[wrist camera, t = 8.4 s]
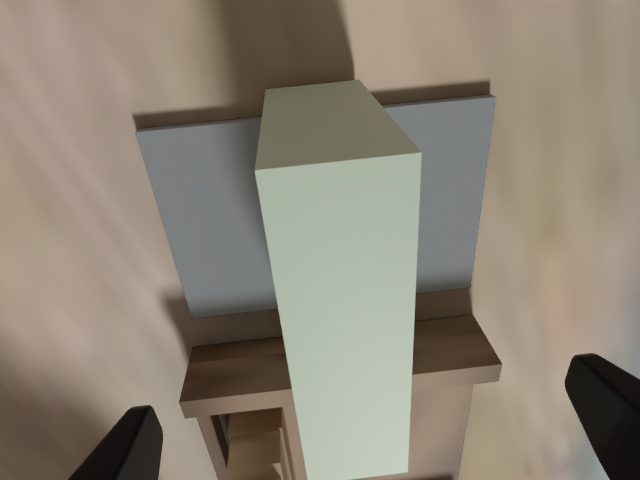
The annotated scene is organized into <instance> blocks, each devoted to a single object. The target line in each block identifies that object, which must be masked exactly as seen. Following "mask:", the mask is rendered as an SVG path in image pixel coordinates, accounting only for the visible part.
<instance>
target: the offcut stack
mask: <svg viewBox="0 0 640 480" xmlns="http://www.w3.org/2000/svg"><path fill="white" fill-rule="evenodd" d="M228 437H229V440H230V448H229V457H228V466H227V470H228V474H229V477H230V480H296V475H295V469H294V464H293V458H292V453H291V448H290V442H289V437H288V431H287V426H286V420H285V415H284V410H283V407H277V408H269V409H261V410H252V411H244V412H235V413H230V418H229V426H228Z"/></svg>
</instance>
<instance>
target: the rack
mask: <svg viewBox="0 0 640 480" xmlns="http://www.w3.org/2000/svg"><path fill="white" fill-rule="evenodd" d="M501 368H502V363H501V361H500V360H499V358H498V356H497V355H496V353H495V351H494V350H493V348H492V346H491V344H490V343H489V341H488V339H487V338H486V336H485V334H484V333H483V331H482V329H481V328H480V326H479V324H478V322H477V321H476V319H475V317H474V316H473V315H471V316H462V317H453V318H444V319H436V320H427V321H418V322H414V342H413V365H412V388H411V411H410V434H409V457H408V472H406V473H399V474H391V475H383V476H375V477H368V478H360V479H352V480H458V476H459V469H460V463H461V457H462V451H463V445H464V438H465V432H466V426H467V420H468V414H469V407H470V401H471V395H472V389H473V384H479V383H487V382H496V381H499V377H500V372H501ZM179 403H180V406H181V409H182V411H183V414H184V417H185V418H193V417H196V418H197V421H198V423H199V426H200V429H201V432H202V435H203V438H204V441H205V443H206V446H207V449H208V452H209V455H210V458H211V460H212V463H213V466H214V469H215V472H216V475H217V477H218V480H230V477H229V474H228V470H227V466H228V457H229V448H230V440H229V437H228V426H229V418H230V413H235V412H244V411H252V410H261V409H269V408H277V407H283V410H284V415H285V420H286V426H287V431H288V437H289V442H290V448H291V453H292V458H293V464H294V469H295V475H296V480H307V474H306V468H305V462H304V456H303V450H302V445H301V439H300V433H299V427H298V421H297V415H296V410H295V404H294V398H293V392H292V386H291V380H290V374H289V369H288V363H287V357H286V351H285V345H284V339H283V337H278V338H269V339H260V340H251V341H242V342H234V343H225V344H216V345H207V346H199V347H192V351H191V355H190V359H189V364H188V368H187V372H186V376H185V380H184V384H183V388H182V392H181V396H180V401H179Z"/></svg>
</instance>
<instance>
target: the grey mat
mask: <svg viewBox="0 0 640 480" xmlns="http://www.w3.org/2000/svg"><path fill="white" fill-rule="evenodd" d="M495 100H496V97H495V96H493V95H491V94H490V95H480V96H469V97H459V98H449V99H439V100H428V101H418V102H408V103H398V104H387V105H381V106H382V107H383V108H384V109H385V110H386V112H387V113H388V114H389V115H390V116H391V117H392V118H393V120H394V121H395V122H396V123H397V124H398V125H399V127H400V128H401V129H402V130H403V131H404V132H405V134H406V135H407V136H408V137H409V138H410V139H411V140H412V142H413V143H414V144H415V145H416V146H417V147H418V149H419V150H420V151H421V152H422V158H421V181H420V204H419V227H418V250H417V273H416V293H424V292H433V291H442V290H451V289H459V288H468V287H471V280H472V272H473V265H474V258H475V250H476V243H477V235H478V228H479V220H480V213H481V205H482V198H483V190H484V183H485V175H486V168H487V160H488V153H489V145H490V138H491V130H492V123H493V115H494V108H495ZM261 120H262V117H254V118H244V119H234V120H224V121H213V122H203V123H193V124H183V125H172V126H162V127H152V128H142V129H138V130H137V131H136V132H135V133H136V136H137V140H138V143H139V146H140V149H141V153H142V156H143V159H144V163H145V166H146V169H147V172H148V176H149V179H150V182H151V186H152V189H153V192H154V196H155V199H156V202H157V205H158V209H159V212H160V215H161V219H162V222H163V225H164V229H165V232H166V235H167V238H168V242H169V245H170V248H171V252H172V255H173V258H174V261H175V265H176V268H177V271H178V275H179V278H180V281H181V285H182V288H183V291H184V294H185V298H186V301H187V304H188V308H189V311H190V314H191V317H192V318H200V317H209V316H218V315H227V314H236V313H245V312H254V311H263V310H272V309H278V304H277V298H276V293H275V287H274V281H273V275H272V269H271V263H270V258H269V252H268V246H267V240H266V234H265V228H264V222H263V217H262V211H261V205H260V199H259V193H258V187H257V182H256V176H255V164H256V156H257V149H258V142H259V135H260V127H261Z"/></svg>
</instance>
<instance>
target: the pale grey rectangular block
mask: <svg viewBox="0 0 640 480" xmlns="http://www.w3.org/2000/svg"><path fill="white" fill-rule="evenodd" d="M421 158H422V152H421V151H420V150H419V149H418V147H417V146H416V145H415V144H414V143H413V142H412V140H411V139H410V138H409V137H408V136H407V135H406V134H405V132H404V131H403V130H402V129H401V128H400V127H399V125H398V124H397V123H396V122H395V121H394V120H393V118H392V117H391V116H390V115H389V114H388V113H387V112H386V110H385V109H384V108H383V107H382V106H381V105H380V103H379V102H378V101H377V100H376V99H375V98H374V96H373V95H372V94H371V93H370V92H369V91H368V89H367V88H366V87H365V86H364V85H363V84H362V83H361V81H360V80H352V81H343V82H333V83H323V84H313V85H303V86H293V87H284V88H274V89H266V91H265V98H264V106H263V113H262V120H261V127H260V135H259V142H258V149H257V156H256V164H255V176H256V182H257V187H258V193H259V199H260V205H261V211H262V217H263V222H264V228H265V234H266V240H267V246H268V252H269V258H270V263H271V269H272V275H273V281H274V287H275V293H276V298H277V304H278V310H279V316H280V322H281V328H282V334H283V339H284V345H285V351H286V357H287V363H288V369H289V374H290V380H291V386H292V392H293V398H294V404H295V410H296V415H297V421H298V427H299V433H300V439H301V445H302V450H303V456H304V462H305V468H306V474H307V480H352V479H360V478H368V477H375V476H383V475H391V474H399V473H406V472H408V457H409V434H410V411H411V388H412V365H413V342H414V319H415V296H416V273H417V250H418V227H419V204H420V181H421Z"/></svg>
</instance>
